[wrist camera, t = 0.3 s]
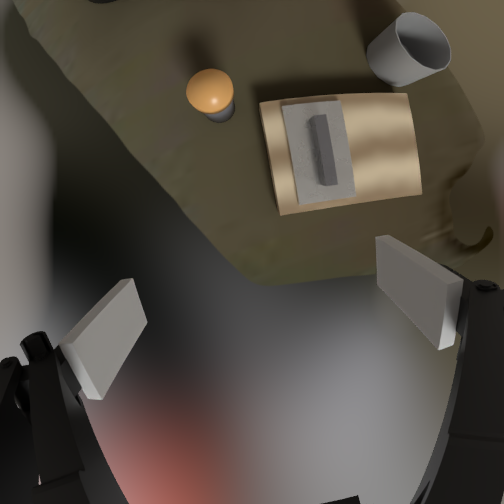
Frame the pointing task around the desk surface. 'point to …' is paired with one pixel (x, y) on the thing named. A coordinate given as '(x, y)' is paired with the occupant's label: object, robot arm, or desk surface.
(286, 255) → the desk surface
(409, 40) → the cup
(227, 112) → the orange grey cylinder
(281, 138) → the socket board
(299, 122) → the shutter
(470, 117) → the desk surface
